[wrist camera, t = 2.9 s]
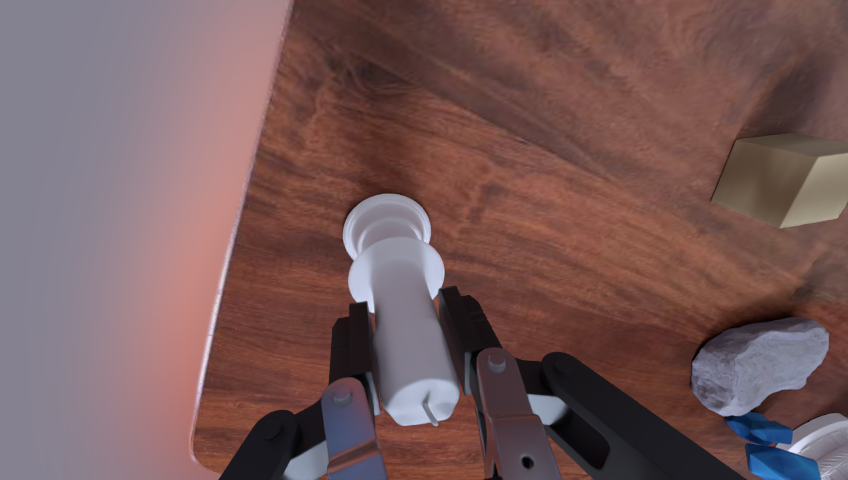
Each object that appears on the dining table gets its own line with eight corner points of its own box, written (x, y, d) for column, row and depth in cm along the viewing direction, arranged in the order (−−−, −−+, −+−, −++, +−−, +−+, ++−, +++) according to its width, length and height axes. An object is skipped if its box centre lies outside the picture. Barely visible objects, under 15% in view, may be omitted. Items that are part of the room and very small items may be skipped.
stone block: (680, 330, 34) (686, 398, 37) (728, 359, 30) (730, 434, 33) (779, 287, 35) (776, 358, 38) (841, 310, 30) (831, 388, 34)
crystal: (804, 450, 34) (876, 483, 36) (732, 384, 42) (795, 415, 44) (747, 488, 37) (818, 517, 39) (690, 420, 45) (751, 447, 47)
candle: (447, 232, 21) (543, 404, 10) (386, 284, 22) (419, 486, 11) (389, 173, 18) (441, 324, 8) (323, 235, 19) (292, 440, 9)
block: (735, 139, 22) (819, 156, 18) (790, 132, 22) (883, 147, 18) (710, 201, 24) (779, 228, 20) (760, 193, 25) (837, 218, 21)
